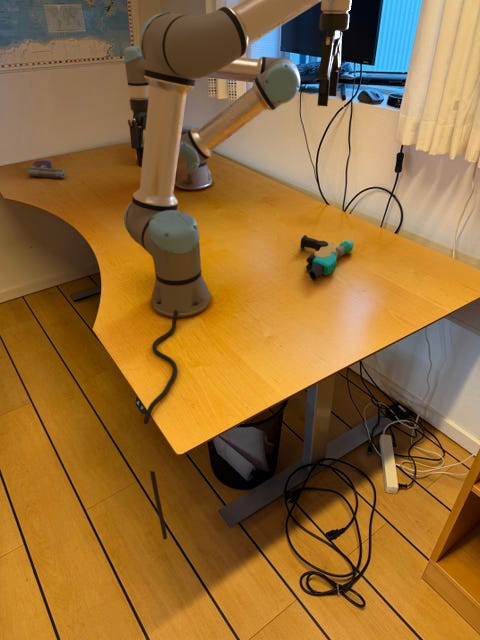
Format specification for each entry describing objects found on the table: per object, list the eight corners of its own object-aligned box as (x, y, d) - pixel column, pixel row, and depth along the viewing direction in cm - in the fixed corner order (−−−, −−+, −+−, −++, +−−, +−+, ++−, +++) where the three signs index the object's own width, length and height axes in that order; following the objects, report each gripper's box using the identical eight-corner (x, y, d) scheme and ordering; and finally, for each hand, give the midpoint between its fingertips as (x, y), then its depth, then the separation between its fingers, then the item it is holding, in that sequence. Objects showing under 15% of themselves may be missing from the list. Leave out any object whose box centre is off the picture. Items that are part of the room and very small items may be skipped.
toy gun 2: (277, 262, 133) (328, 274, 127) (310, 227, 151) (356, 237, 146) (276, 276, 135) (326, 289, 130) (309, 240, 154) (354, 250, 148)
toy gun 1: (79, 169, 213) (62, 180, 201) (41, 166, 216) (22, 178, 205) (77, 160, 211) (60, 171, 199) (39, 158, 214) (20, 169, 202)
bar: (187, 178, 168) (186, 156, 163) (177, 181, 166) (175, 158, 161) (147, 162, 182) (145, 141, 178) (137, 165, 180) (135, 143, 175)
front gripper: (329, 9, 134) (322, 91, 146) (310, 15, 115) (304, 109, 127) (356, 9, 132) (347, 92, 144) (341, 15, 113) (332, 111, 125)
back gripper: (148, 92, 173) (154, 156, 187) (114, 101, 160) (123, 170, 173) (164, 94, 170) (170, 159, 184) (131, 103, 157) (140, 173, 171)
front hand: (327, 100), depth 136 cm, fingers open, 13 cm apart
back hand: (147, 164), depth 179 cm, fingers closed on bar, 6 cm apart
